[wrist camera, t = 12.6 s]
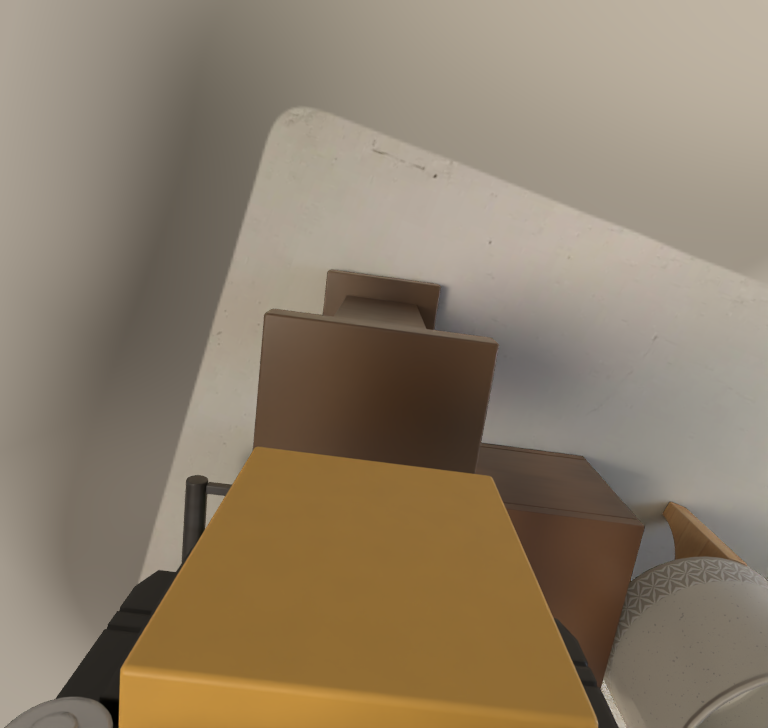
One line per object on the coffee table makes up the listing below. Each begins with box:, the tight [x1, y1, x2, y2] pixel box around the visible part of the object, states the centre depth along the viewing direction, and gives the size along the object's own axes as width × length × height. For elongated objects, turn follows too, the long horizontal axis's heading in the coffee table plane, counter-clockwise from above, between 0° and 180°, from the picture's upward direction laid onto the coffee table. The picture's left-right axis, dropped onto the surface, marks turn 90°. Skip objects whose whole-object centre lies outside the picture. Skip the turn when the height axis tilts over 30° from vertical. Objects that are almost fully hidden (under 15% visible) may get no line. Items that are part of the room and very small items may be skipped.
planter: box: [603, 502, 768, 728], centre depth 37 cm, size 13×13×18 cm
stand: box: [253, 270, 499, 474], centre depth 30 cm, size 8×8×22 cm
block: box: [119, 447, 598, 728], centre depth 9 cm, size 5×5×6 cm
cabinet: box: [475, 443, 645, 689], centre depth 39 cm, size 15×13×11 cm
